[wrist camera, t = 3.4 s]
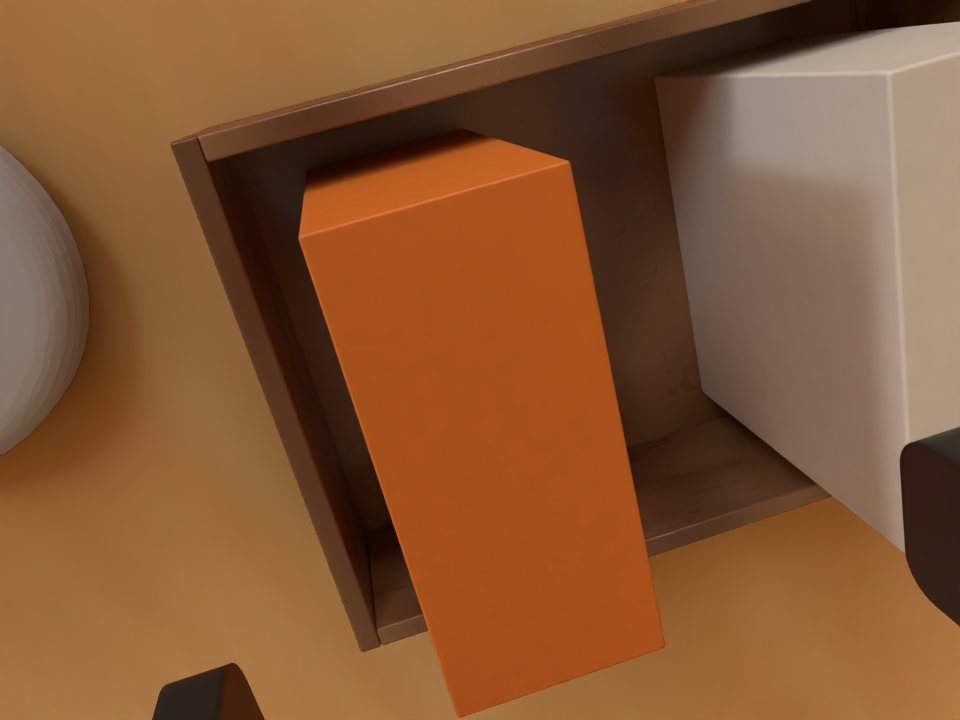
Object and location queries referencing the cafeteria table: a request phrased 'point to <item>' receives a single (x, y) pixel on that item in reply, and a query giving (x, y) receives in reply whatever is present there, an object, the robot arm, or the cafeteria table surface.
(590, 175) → the brown wooden tray
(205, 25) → the cafeteria table surface
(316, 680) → the cafeteria table surface
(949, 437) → the robot arm
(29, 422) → the holder
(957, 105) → the block
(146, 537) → the cafeteria table surface
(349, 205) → the block
